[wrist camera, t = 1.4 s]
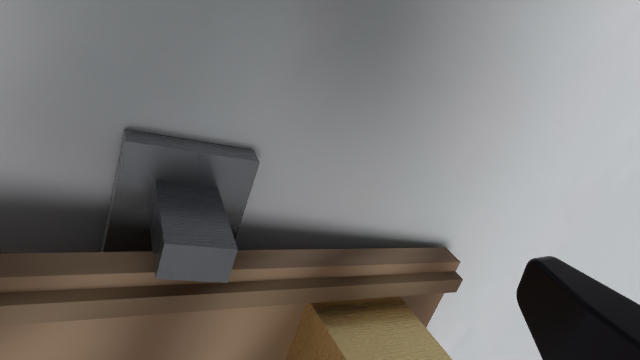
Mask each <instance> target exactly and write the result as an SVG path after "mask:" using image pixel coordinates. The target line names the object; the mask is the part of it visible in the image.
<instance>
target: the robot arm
mask: <svg viewBox="0 0 640 360" xmlns="http://www.w3.org/2000/svg"><path fill="white" fill-rule="evenodd" d="M517 301H518V304H519V307H520V309H521V311H522V314H523V316H524V318H525V321H526V323H527V325H528V327H529V330H530V332H531V334H532V336H533V339H534V341H535V343H536V346H537V348H538V350H539V352H540V355H541V357H542V359H543V360H640V305H639V304H637V303H635V302H634V301H632V300H630V299H628V298H627V297H625V296H623V295H621V294H619V293H618V292H616V291H614V290H612V289H611V288H609V287H607V286H605V285H603V284H602V283H600V282H598V281H596V280H595V279H593V278H591V277H589V276H587V275H586V274H584V273H582V272H580V271H579V270H577V269H575V268H573V267H571V266H570V265H568V264H566V263H564V262H563V261H561V260H559V259H557V258H555V257H552V256H546V257H540V258H534V259H531V260H530V261H529V262H528V263H527V265H526V268H525V270H524V273H523V275H522V278H521V281H520V283H519V286H518V288H517Z"/></svg>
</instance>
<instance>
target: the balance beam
mask: <svg viewBox="0 0 640 360" xmlns="http://www.w3.org/2000/svg"><path fill="white" fill-rule="evenodd" d="M459 264H460V261H459V260H458V259H457V258H456V257H455V256H454V255H453V254H452V253H451V252H450V251H449V250H448V249H447V248H446V247H443V248H369V249H294V250H238V251H237V254H236V257H235V260H234V264H233V267H232V270H231V273H230V276H229V279H228V282H227V283H220V282H202V281H184V280H166V279H155V270H154V261H153V252H152V251H146V252H72V253H0V360H285V358H286V355H287V353H288V350H289V348H290V345H291V343H292V340H293V338H294V335H295V333H296V330H297V328H298V325H299V323H300V320H301V318H302V315H303V312H304V310H305V307H306V305H307V303H316V302H330V301H343V300H356V299H370V298H383V297H396V296H400V297H401V298H402V300H403V301H404V302H405V303H406V304H407V306H408V307H409V308H410V309H411V311H412V312H413V313H414V314H415V315H416V317H417V318H418V319H419V320H420V321H421V323H422V324H423V325H424V326H425V327H427V325H428V323H429V321H430V319H431V317H432V315H433V313H434V311H435V310H436V308H437V306H438V304H439V302H440V300H441V298H442V296H443V294H444V293H450V292H456V291H457V289H458V288H459V286H460V284H461V282H462V280H463V279H462V278H461V277H460V276H459V275H458V274H457V273H456V272H455V271H456V269H457V267H458V265H459Z"/></svg>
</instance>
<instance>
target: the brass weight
mask: <svg viewBox="0 0 640 360" xmlns="http://www.w3.org/2000/svg"><path fill="white" fill-rule="evenodd" d="M285 360H452V359H451V358H450V356H449V355H448V354H447V353H446V352H445V350H444V349H443V348H442V347H441V346H440V344H439V343H438V342H437V341H436V340H435V338H434V337H433V336H432V335H431V334H430V332H429V331H428V330H427V329H426V327H425V326H424V325H423V324H422V323H421V321H420V320H419V319H418V318H417V317H416V315H415V314H414V313H413V312H412V311H411V309H410V308H409V307H408V306H407V304H406V303H405V302H404V301H403V300H402V298H401V297H400V296H396V297H383V298H370V299H356V300H343V301H330V302H316V303H307V305H306V307H305V310H304V312H303V315H302V318H301V320H300V323H299V325H298V328H297V330H296V333H295V335H294V338H293V340H292V343H291V345H290V348H289V350H288V353H287V355H286V358H285Z"/></svg>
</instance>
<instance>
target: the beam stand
mask: <svg viewBox="0 0 640 360" xmlns="http://www.w3.org/2000/svg"><path fill="white" fill-rule="evenodd" d="M258 165H259V160H258V158H257V156H256V154H255V151H254V150H249V149H243V148H237V147H230V146H224V145H218V144H212V143H206V142H200V141H194V140H188V139H181V138H175V137H169V136H163V135H157V134H151V133H145V132H138V131H132V130H126V129H124V134H123V140H122V145H121V150H120V155H119V160H118V165H117V170H116V175H115V180H114V185H113V191H112V196H111V201H110V206H109V211H108V216H107V221H106V226H105V231H104V237H103V242H102V247H101V252H146V251H152V252H153V261H154V270H155V279H166V280H184V281H202V282H220V283H227V282H228V279H229V276H230V273H231V270H232V267H233V264H234V260H235V257H236V254H237V251H238V248H237V245H236V242H235V239H236V235H237V232H238V229H239V226H240V223H241V219H242V216H243V213H244V210H245V207H246V203H247V200H248V197H249V194H250V191H251V187H252V184H253V181H254V178H255V175H256V172H257V168H258Z"/></svg>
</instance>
